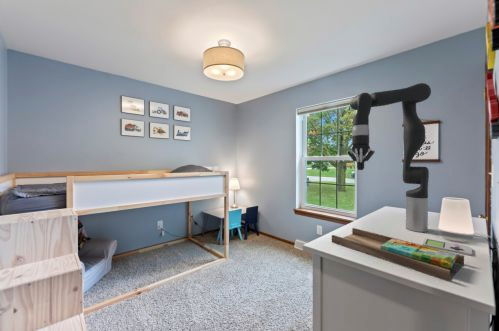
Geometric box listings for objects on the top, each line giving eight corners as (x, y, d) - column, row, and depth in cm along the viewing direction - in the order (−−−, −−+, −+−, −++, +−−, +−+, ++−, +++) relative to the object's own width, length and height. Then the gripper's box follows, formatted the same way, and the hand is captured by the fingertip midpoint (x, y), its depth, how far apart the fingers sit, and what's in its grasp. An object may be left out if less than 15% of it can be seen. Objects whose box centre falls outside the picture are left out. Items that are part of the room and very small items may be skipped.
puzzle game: (391, 236, 91) (457, 251, 75) (391, 247, 91) (457, 265, 75) (380, 243, 83) (451, 261, 68) (380, 255, 84) (451, 276, 68)
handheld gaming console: (472, 253, 83) (422, 243, 93) (472, 257, 83) (422, 247, 93) (471, 246, 90) (425, 237, 100) (471, 249, 90) (425, 240, 100)
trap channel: (353, 233, 109) (353, 227, 109) (464, 264, 77) (464, 255, 76) (331, 242, 98) (331, 235, 98) (449, 281, 66) (449, 271, 66)
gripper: (378, 134, 105) (378, 170, 105) (351, 136, 116) (351, 169, 116) (370, 133, 101) (370, 170, 101) (343, 135, 111) (343, 169, 112)
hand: (360, 169), depth 109 cm, fingers closed
